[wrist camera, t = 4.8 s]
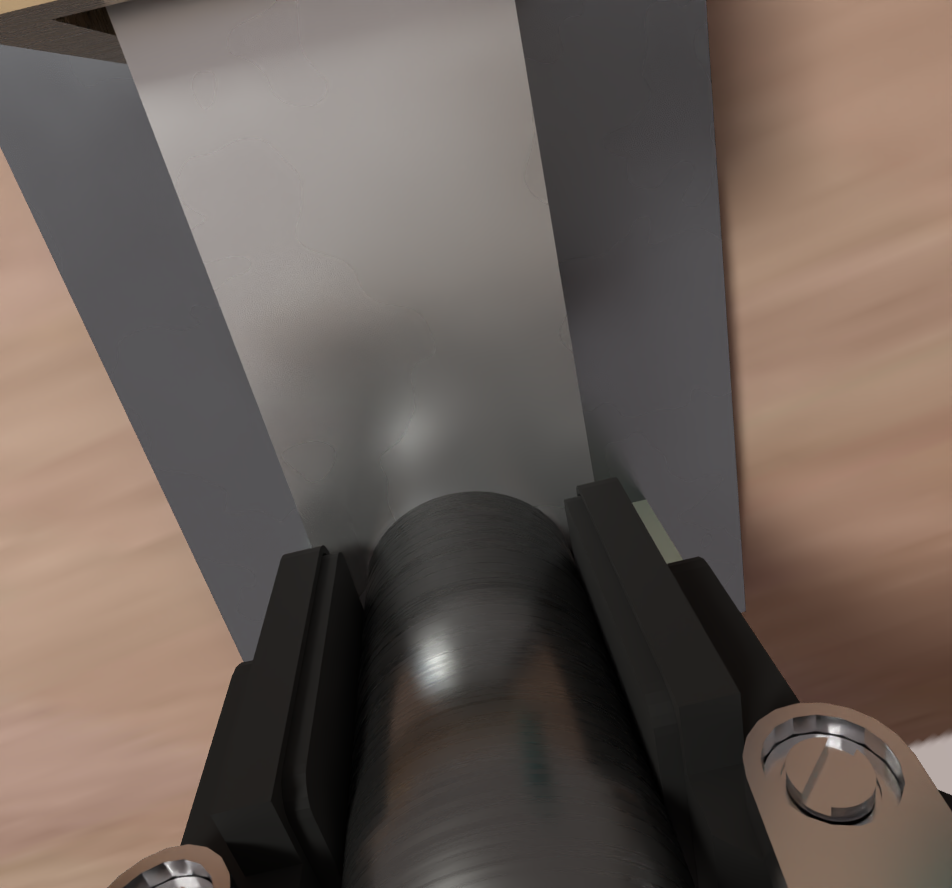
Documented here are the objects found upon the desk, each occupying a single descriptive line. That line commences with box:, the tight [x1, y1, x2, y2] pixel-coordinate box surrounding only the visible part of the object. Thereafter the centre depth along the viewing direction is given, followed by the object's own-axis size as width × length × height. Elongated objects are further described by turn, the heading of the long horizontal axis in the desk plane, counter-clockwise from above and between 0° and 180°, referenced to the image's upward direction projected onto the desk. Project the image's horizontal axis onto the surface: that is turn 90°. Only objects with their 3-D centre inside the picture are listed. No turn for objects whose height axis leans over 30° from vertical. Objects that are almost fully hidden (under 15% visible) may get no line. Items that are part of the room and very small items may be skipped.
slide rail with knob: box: [0, 0, 746, 662], centre depth 10 cm, size 11×22×6 cm, turn 12°
